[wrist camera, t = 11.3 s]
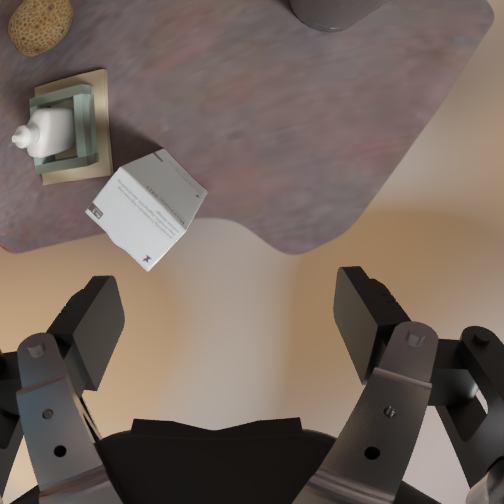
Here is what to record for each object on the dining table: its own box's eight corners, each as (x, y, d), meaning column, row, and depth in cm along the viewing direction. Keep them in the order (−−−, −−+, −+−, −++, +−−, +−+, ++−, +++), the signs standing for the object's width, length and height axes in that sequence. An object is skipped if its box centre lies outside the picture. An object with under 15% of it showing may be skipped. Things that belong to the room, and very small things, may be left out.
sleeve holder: (38, 87, 32) (20, 87, 28) (106, 69, 32) (92, 65, 28) (46, 183, 38) (30, 191, 34) (113, 173, 38) (100, 181, 34)
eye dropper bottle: (47, 136, 34) (-8, 149, 23) (69, 101, 33) (15, 103, 22) (67, 155, 36) (14, 173, 25) (90, 120, 34) (40, 127, 23)
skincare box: (208, 191, 40) (194, 232, 26) (176, 222, 41) (149, 277, 28) (161, 145, 37) (121, 163, 24) (130, 179, 39) (81, 214, 25)
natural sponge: (60, 69, 32) (18, 63, 22) (24, 46, 29) (-18, 38, 20) (100, 14, 29) (65, -8, 20) (60, -7, 26) (23, -26, 17)
